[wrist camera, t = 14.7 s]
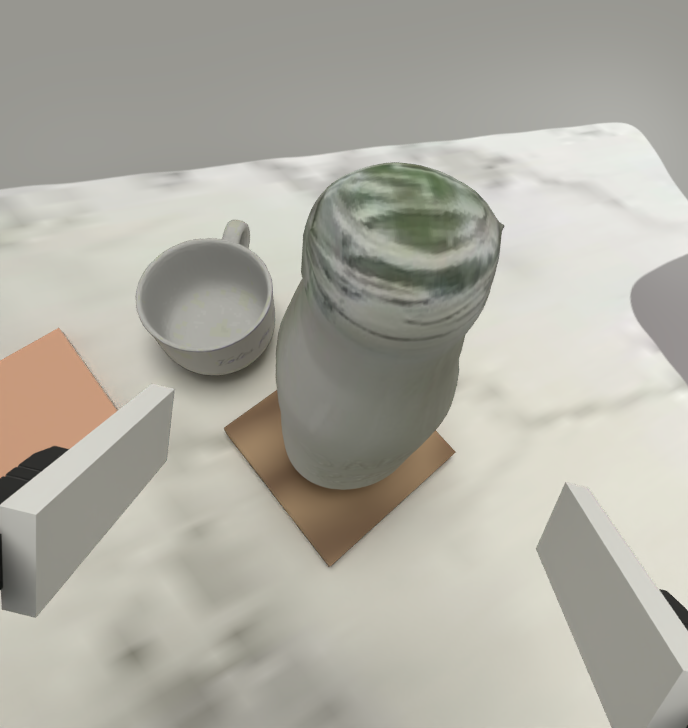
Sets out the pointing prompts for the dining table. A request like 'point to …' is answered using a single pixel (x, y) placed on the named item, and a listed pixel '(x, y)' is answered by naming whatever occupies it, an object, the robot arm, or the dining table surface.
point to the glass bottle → (380, 319)
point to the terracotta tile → (47, 400)
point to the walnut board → (319, 504)
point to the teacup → (209, 302)
